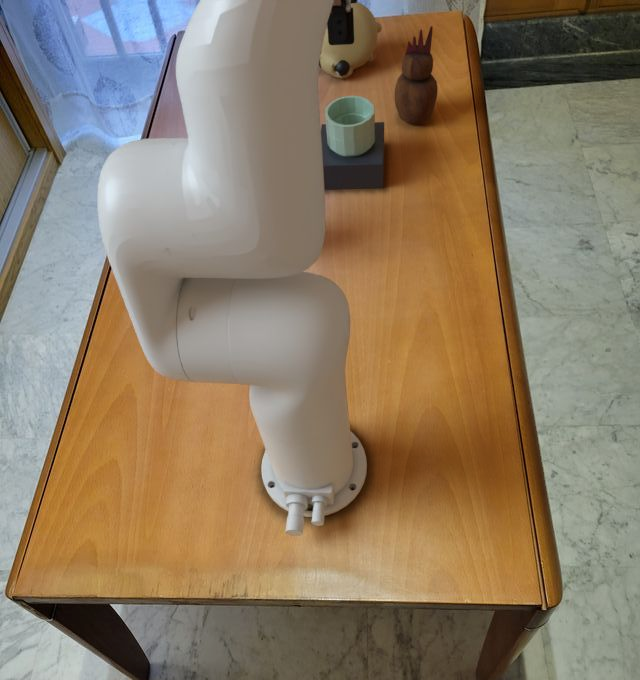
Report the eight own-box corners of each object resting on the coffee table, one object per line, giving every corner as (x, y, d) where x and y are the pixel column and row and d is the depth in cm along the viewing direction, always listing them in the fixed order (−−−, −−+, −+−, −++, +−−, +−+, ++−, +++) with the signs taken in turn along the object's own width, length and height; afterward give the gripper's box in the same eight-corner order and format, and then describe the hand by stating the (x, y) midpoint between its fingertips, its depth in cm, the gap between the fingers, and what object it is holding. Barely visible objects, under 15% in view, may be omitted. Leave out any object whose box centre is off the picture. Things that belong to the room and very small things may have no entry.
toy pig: (332, 75, 121) (295, 56, 113) (360, 7, 116) (323, -18, 108) (367, 94, 117) (331, 76, 109) (398, 25, 111) (362, 0, 103)
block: (382, 188, 99) (382, 163, 96) (319, 189, 101) (316, 165, 97) (384, 146, 104) (384, 121, 100) (323, 148, 105) (321, 124, 102)
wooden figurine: (440, 114, 107) (448, 21, 94) (424, 134, 105) (430, 41, 92) (405, 103, 109) (408, 11, 96) (389, 123, 107) (389, 31, 94)
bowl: (374, 158, 96) (373, 125, 92) (326, 159, 97) (323, 127, 92) (375, 127, 100) (375, 94, 95) (329, 129, 101) (326, 96, 96)
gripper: (306, -176, 72) (319, -11, 87) (291, -110, 63) (309, 62, 78) (372, -182, 71) (374, -14, 86) (367, -116, 62) (370, 59, 77)
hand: (343, 22), depth 82 cm, fingers open, 9 cm apart
